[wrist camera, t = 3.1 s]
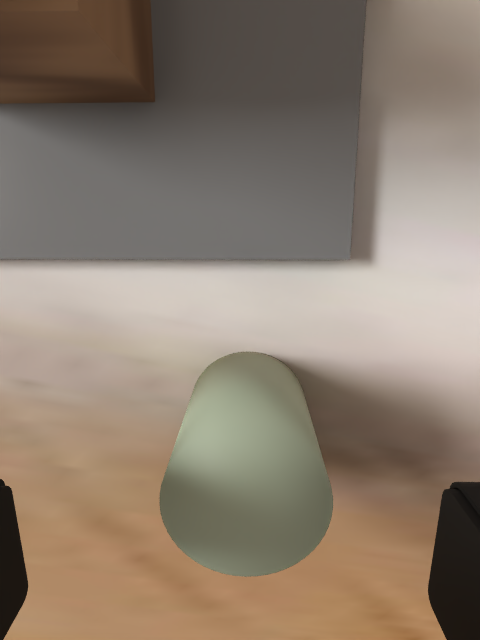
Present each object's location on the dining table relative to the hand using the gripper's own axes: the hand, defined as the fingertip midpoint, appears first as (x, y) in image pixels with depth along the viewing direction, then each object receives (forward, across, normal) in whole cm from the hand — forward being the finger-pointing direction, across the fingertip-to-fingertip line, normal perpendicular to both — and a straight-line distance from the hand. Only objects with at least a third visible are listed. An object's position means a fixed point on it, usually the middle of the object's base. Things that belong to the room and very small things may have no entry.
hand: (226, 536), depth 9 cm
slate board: (+8, +4, -11) cm, 14 cm away
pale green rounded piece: (+8, 0, +1) cm, 8 cm away
